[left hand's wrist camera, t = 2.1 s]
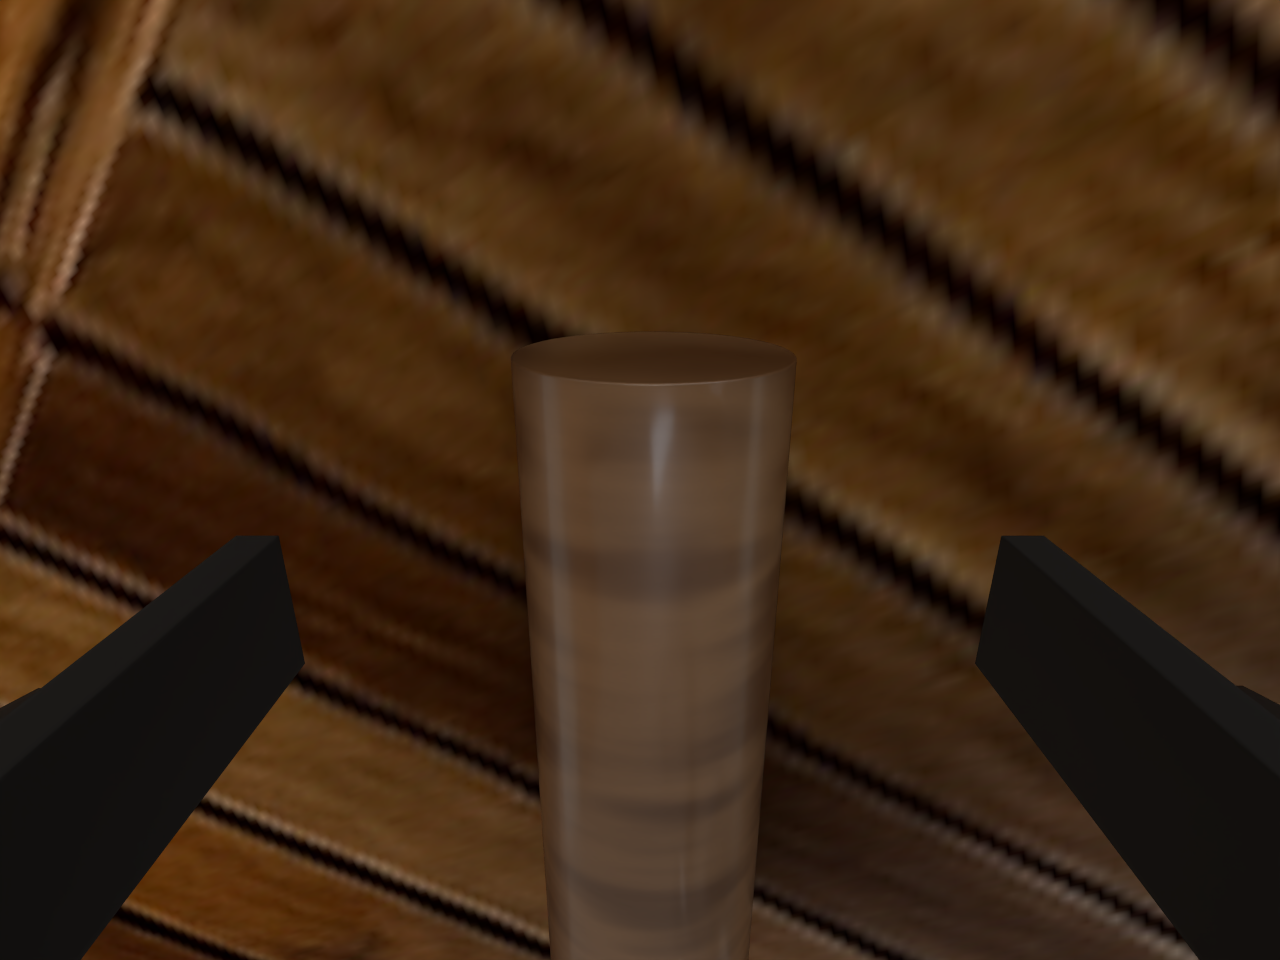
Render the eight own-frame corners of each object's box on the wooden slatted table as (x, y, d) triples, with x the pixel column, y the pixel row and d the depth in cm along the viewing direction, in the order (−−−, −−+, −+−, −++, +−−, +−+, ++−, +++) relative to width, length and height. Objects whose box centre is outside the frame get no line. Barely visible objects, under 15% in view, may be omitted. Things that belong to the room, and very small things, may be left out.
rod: (534, 331, 22) (480, 382, 15) (770, 331, 22) (828, 383, 15) (563, 869, 30) (537, 1066, 23) (734, 871, 30) (761, 1069, 23)
